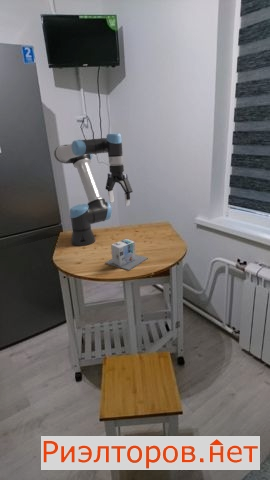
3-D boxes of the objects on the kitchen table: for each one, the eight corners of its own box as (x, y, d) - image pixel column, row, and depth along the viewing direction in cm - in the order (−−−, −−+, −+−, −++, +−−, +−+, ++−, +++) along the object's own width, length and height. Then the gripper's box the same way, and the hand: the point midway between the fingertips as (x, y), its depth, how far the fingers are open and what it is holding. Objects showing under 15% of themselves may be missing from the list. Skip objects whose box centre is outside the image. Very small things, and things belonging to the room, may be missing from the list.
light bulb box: (118, 248, 138) (135, 241, 144) (110, 244, 142) (126, 237, 149) (120, 267, 142) (136, 259, 149) (112, 262, 147) (127, 256, 153)
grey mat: (105, 263, 148) (105, 262, 148) (124, 252, 160) (124, 251, 159) (129, 270, 139) (129, 269, 138) (147, 258, 150) (147, 257, 150)
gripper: (96, 164, 156) (100, 202, 163) (126, 166, 138) (129, 208, 146) (107, 163, 160) (111, 199, 168) (137, 164, 143) (139, 205, 150)
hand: (119, 203), depth 157 cm, fingers open, 13 cm apart
